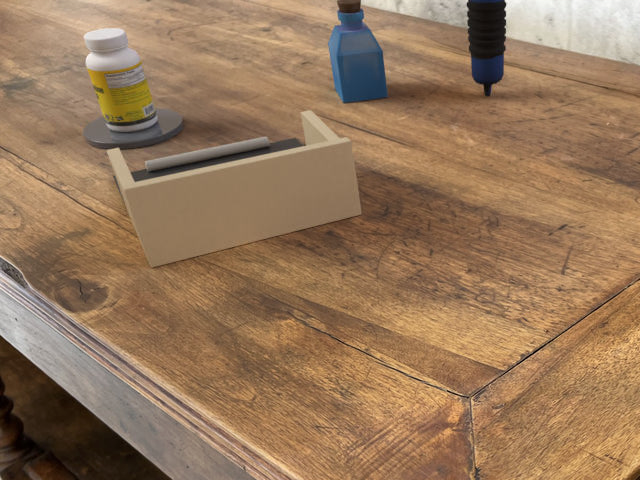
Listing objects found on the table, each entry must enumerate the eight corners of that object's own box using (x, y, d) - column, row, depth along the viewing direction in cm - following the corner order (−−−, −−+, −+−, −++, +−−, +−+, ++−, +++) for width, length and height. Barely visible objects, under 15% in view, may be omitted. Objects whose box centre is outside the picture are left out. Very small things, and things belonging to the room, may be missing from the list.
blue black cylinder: (505, 82, 115) (502, -77, 102) (525, 99, 109) (525, -66, 96) (452, 89, 113) (442, -72, 100) (470, 108, 107) (462, -60, 94)
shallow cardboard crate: (151, 268, 75) (124, 189, 70) (115, 182, 90) (90, 112, 85) (362, 214, 83) (351, 140, 78) (297, 143, 98) (284, 77, 93)
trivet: (91, 156, 96) (89, 150, 95) (79, 124, 104) (77, 118, 103) (193, 136, 100) (191, 130, 100) (173, 107, 108) (172, 101, 108)
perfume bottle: (335, 88, 113) (321, -3, 106) (377, 83, 115) (366, -7, 108) (343, 103, 109) (329, 9, 101) (387, 96, 111) (377, 3, 103)
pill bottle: (105, 120, 103) (75, 30, 96) (156, 112, 105) (129, 23, 98) (108, 137, 98) (76, 43, 91) (161, 128, 100) (133, 36, 93)
